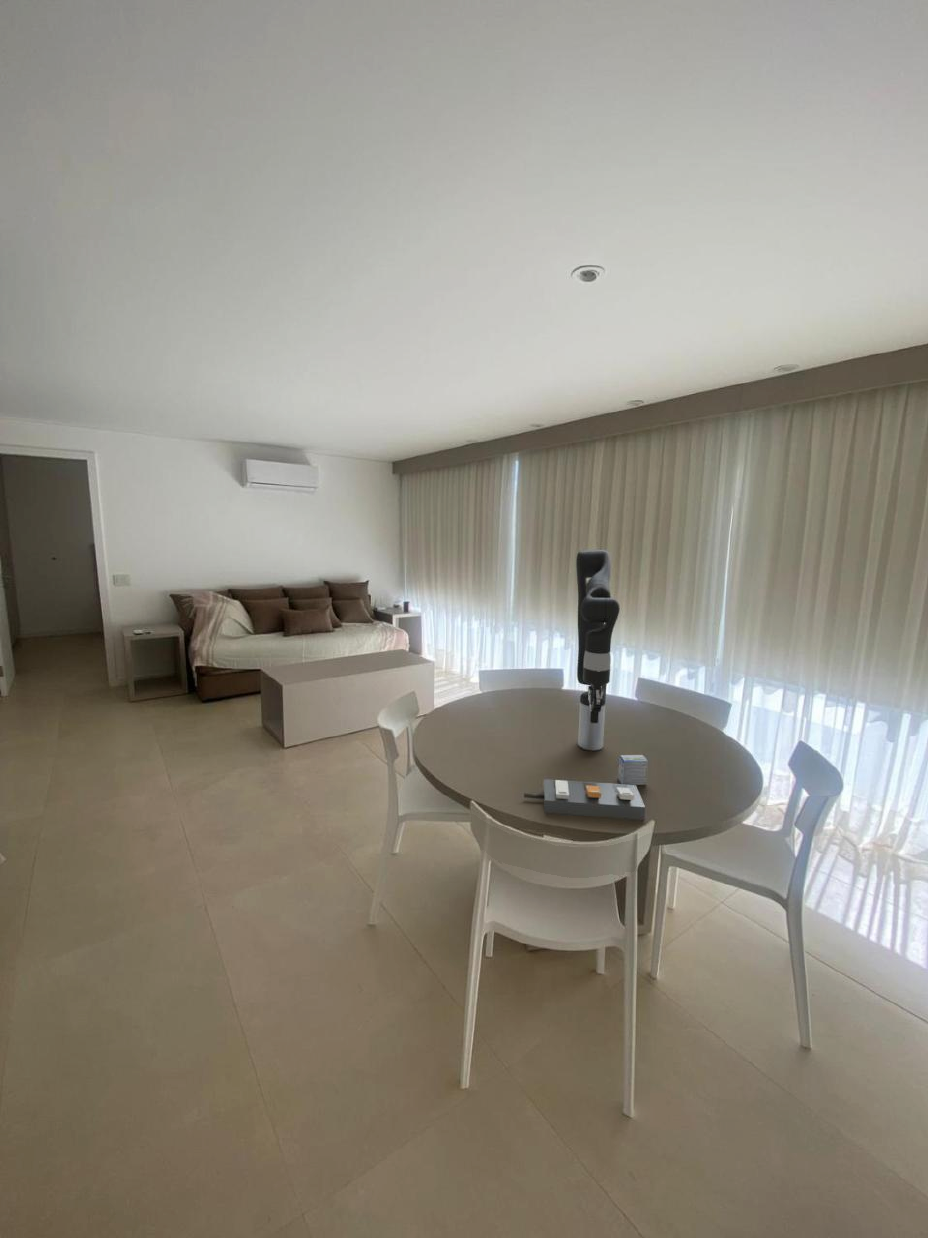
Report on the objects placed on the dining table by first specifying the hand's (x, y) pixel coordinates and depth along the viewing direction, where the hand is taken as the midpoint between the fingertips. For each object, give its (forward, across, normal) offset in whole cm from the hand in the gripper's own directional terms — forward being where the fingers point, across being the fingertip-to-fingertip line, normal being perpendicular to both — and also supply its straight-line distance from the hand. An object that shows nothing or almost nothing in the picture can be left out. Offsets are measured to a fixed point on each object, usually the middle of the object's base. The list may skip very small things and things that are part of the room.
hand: (593, 722), depth 142 cm
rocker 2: (+19, +6, 0) cm, 20 cm away
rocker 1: (+19, +6, -9) cm, 22 cm away
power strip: (+25, +3, -3) cm, 25 cm away
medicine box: (+25, -12, +15) cm, 32 cm away
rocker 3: (+19, +6, +9) cm, 22 cm away
